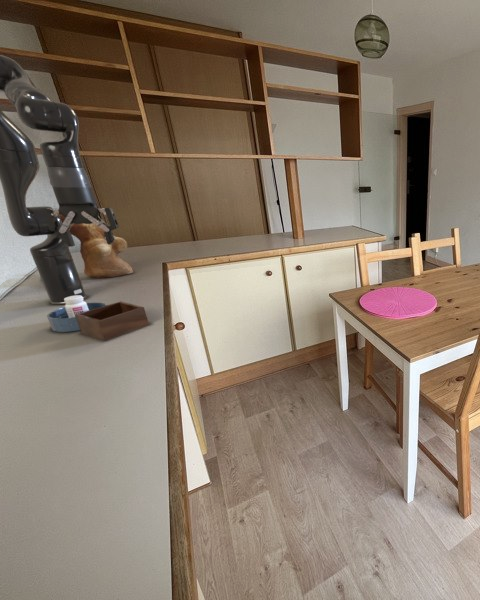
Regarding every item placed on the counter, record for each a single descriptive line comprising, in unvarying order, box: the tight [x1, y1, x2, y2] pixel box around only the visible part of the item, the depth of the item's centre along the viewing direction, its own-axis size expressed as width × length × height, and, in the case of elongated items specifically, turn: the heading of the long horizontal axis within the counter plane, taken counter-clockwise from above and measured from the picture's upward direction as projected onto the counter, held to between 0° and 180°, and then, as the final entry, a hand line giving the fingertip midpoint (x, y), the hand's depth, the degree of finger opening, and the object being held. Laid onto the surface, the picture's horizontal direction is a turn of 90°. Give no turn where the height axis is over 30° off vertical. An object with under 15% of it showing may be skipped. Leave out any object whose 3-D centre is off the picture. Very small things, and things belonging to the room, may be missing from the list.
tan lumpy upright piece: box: [58, 213, 134, 279], centre depth 138 cm, size 16×22×30 cm
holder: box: [75, 300, 150, 342], centre depth 94 cm, size 12×12×6 cm
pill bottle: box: [64, 295, 89, 318], centre depth 96 cm, size 5×5×8 cm
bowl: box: [46, 302, 107, 333], centre depth 97 cm, size 13×13×4 cm
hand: (91, 245), depth 90 cm, fingers open, 8 cm apart
